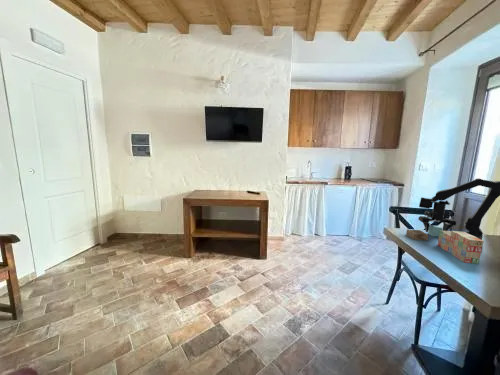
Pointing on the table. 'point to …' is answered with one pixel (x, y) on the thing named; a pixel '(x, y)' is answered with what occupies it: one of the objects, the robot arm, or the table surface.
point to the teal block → (434, 230)
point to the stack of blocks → (461, 245)
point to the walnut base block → (417, 234)
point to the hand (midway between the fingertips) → (434, 233)
